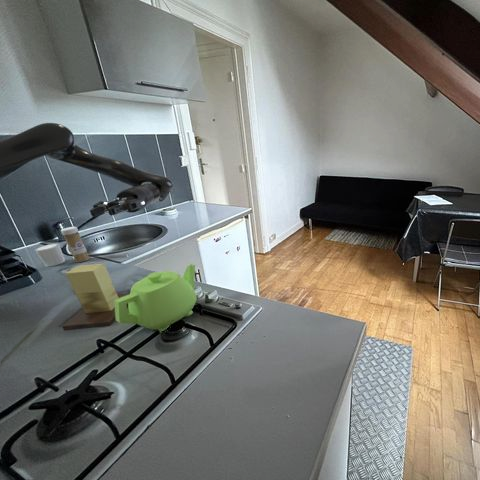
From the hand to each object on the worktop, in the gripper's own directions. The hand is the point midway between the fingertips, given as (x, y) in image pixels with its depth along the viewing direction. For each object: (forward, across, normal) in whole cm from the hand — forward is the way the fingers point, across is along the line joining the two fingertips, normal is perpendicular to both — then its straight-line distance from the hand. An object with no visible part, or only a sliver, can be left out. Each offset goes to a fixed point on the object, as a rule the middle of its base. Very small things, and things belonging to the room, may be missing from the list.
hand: (101, 212), depth 73 cm
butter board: (+13, +1, +24) cm, 27 cm away
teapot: (+18, +20, +24) cm, 36 cm away
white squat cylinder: (-24, -42, +24) cm, 54 cm away
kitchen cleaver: (-9, -21, +24) cm, 33 cm away
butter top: (+13, +1, +17) cm, 21 cm away
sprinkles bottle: (-24, -32, +24) cm, 47 cm away
